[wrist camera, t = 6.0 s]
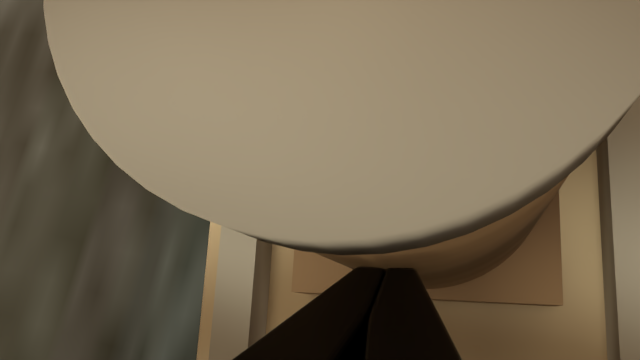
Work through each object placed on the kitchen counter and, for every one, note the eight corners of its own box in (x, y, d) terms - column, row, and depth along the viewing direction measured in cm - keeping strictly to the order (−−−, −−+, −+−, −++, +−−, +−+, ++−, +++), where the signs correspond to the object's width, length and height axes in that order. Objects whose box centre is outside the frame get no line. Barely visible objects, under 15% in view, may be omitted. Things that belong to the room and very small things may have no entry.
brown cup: (555, 306, 13) (792, 269, 3) (305, 293, 15) (-18, 244, 5) (547, 64, 14) (700, -453, 5) (318, 76, 16) (84, -299, 6)
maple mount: (686, 449, 13) (803, 520, 9) (215, 400, 16) (113, 432, 12) (639, -132, 17) (704, -305, 12) (260, -84, 20) (195, -207, 15)
